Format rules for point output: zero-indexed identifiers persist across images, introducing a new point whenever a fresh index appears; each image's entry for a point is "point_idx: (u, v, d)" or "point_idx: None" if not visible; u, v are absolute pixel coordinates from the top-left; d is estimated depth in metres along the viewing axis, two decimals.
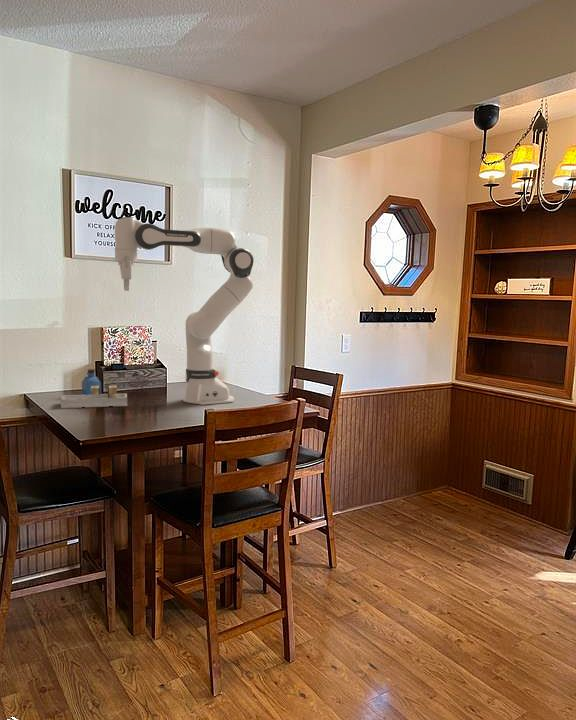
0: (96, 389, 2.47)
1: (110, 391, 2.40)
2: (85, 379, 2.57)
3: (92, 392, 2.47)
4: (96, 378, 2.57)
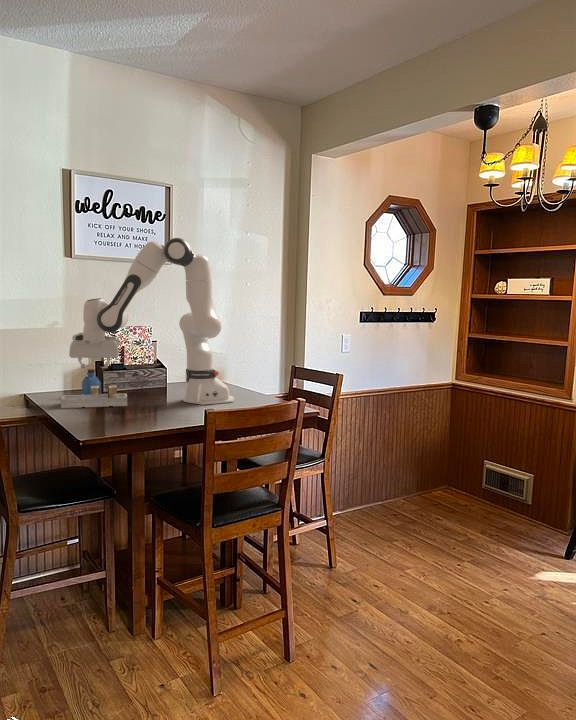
0: (96, 389, 2.47)
1: (110, 391, 2.40)
2: (85, 379, 2.57)
3: (92, 392, 2.47)
4: (96, 378, 2.57)
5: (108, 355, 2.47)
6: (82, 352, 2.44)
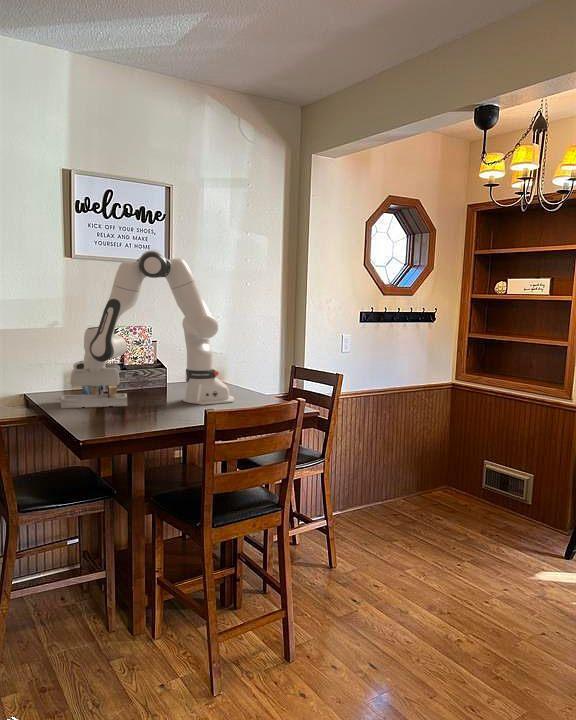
0: (96, 389, 2.47)
1: (110, 391, 2.40)
2: None
3: (92, 392, 2.47)
4: None
5: (109, 383, 2.49)
6: (83, 381, 2.46)
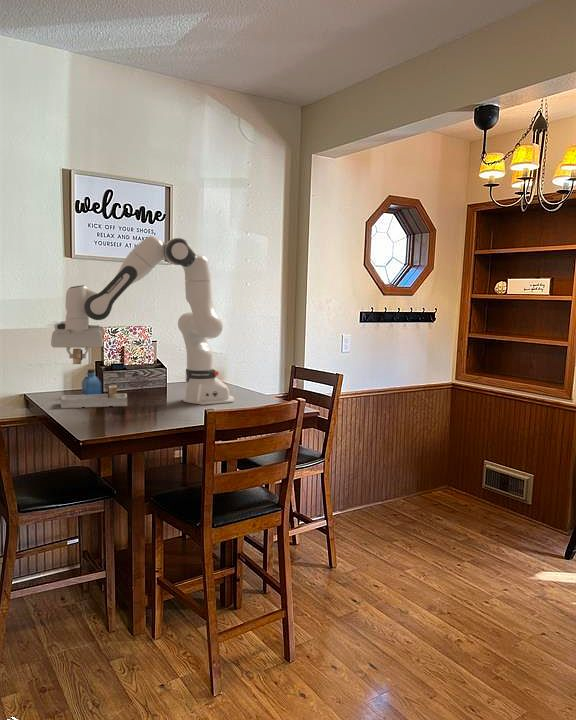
0: (78, 351, 2.36)
1: (110, 391, 2.40)
2: (85, 379, 2.57)
3: (74, 354, 2.35)
4: (96, 378, 2.57)
5: (92, 345, 2.37)
6: (65, 342, 2.34)
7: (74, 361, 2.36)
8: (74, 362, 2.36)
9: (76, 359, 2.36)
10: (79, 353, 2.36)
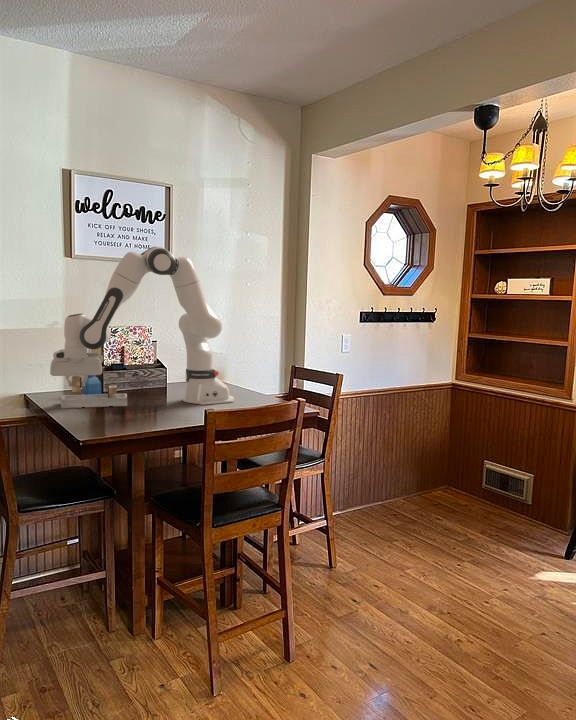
0: (77, 379, 2.36)
1: (110, 391, 2.40)
2: None
3: (73, 382, 2.36)
4: (96, 378, 2.57)
5: (91, 373, 2.38)
6: (64, 370, 2.35)
7: (73, 389, 2.36)
8: (73, 390, 2.36)
9: (75, 387, 2.36)
10: (78, 381, 2.36)
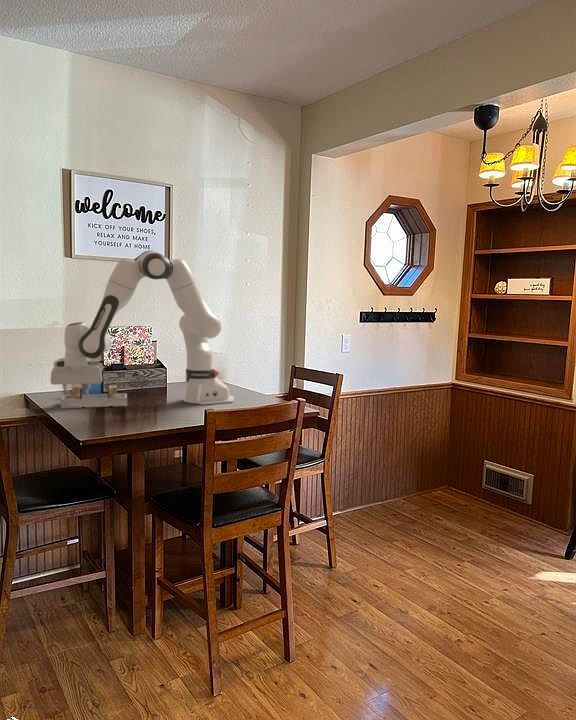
0: (77, 390, 2.37)
1: (110, 391, 2.40)
2: None
3: (73, 393, 2.36)
4: None
5: (91, 381, 2.38)
6: (64, 379, 2.35)
7: None
8: None
9: (76, 398, 2.37)
10: (78, 392, 2.37)
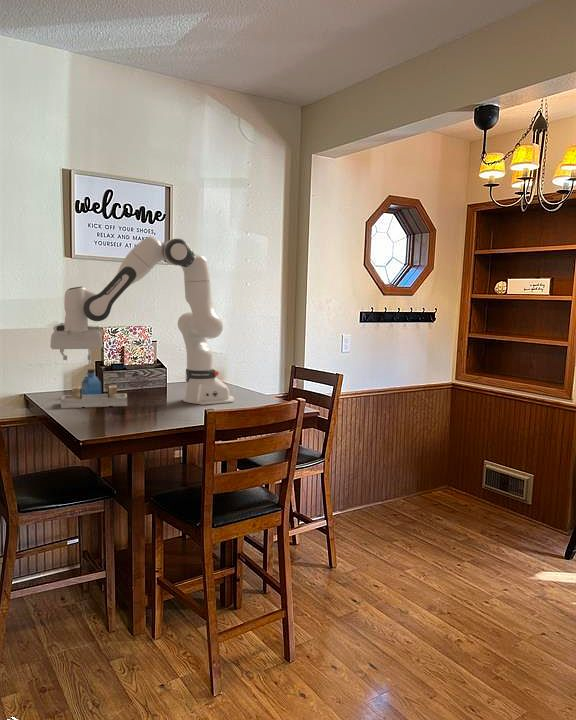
0: (77, 390, 2.37)
1: (110, 391, 2.40)
2: (85, 379, 2.57)
3: (73, 393, 2.36)
4: (96, 378, 2.57)
5: (92, 346, 2.37)
6: (64, 344, 2.34)
7: None
8: None
9: (76, 398, 2.37)
10: (78, 392, 2.37)
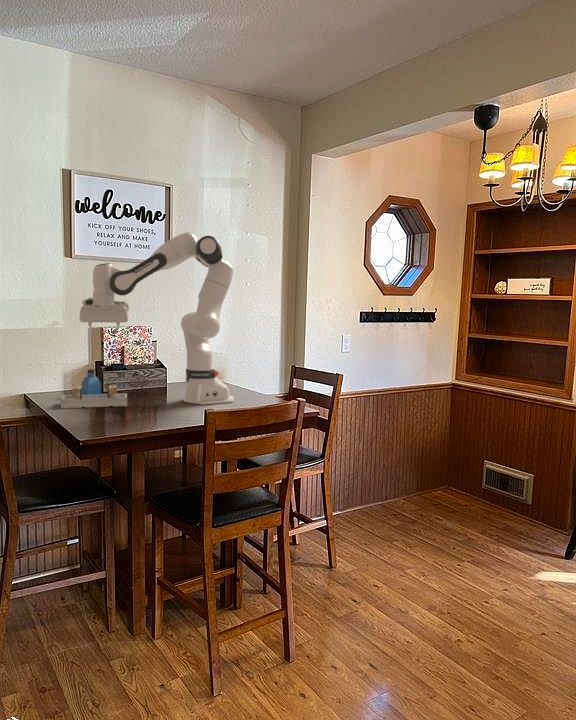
0: (77, 390, 2.37)
1: (110, 391, 2.40)
2: (85, 379, 2.57)
3: (73, 393, 2.36)
4: (96, 378, 2.57)
5: (118, 320, 2.50)
6: (92, 317, 2.47)
7: None
8: None
9: (76, 398, 2.37)
10: (78, 392, 2.37)
